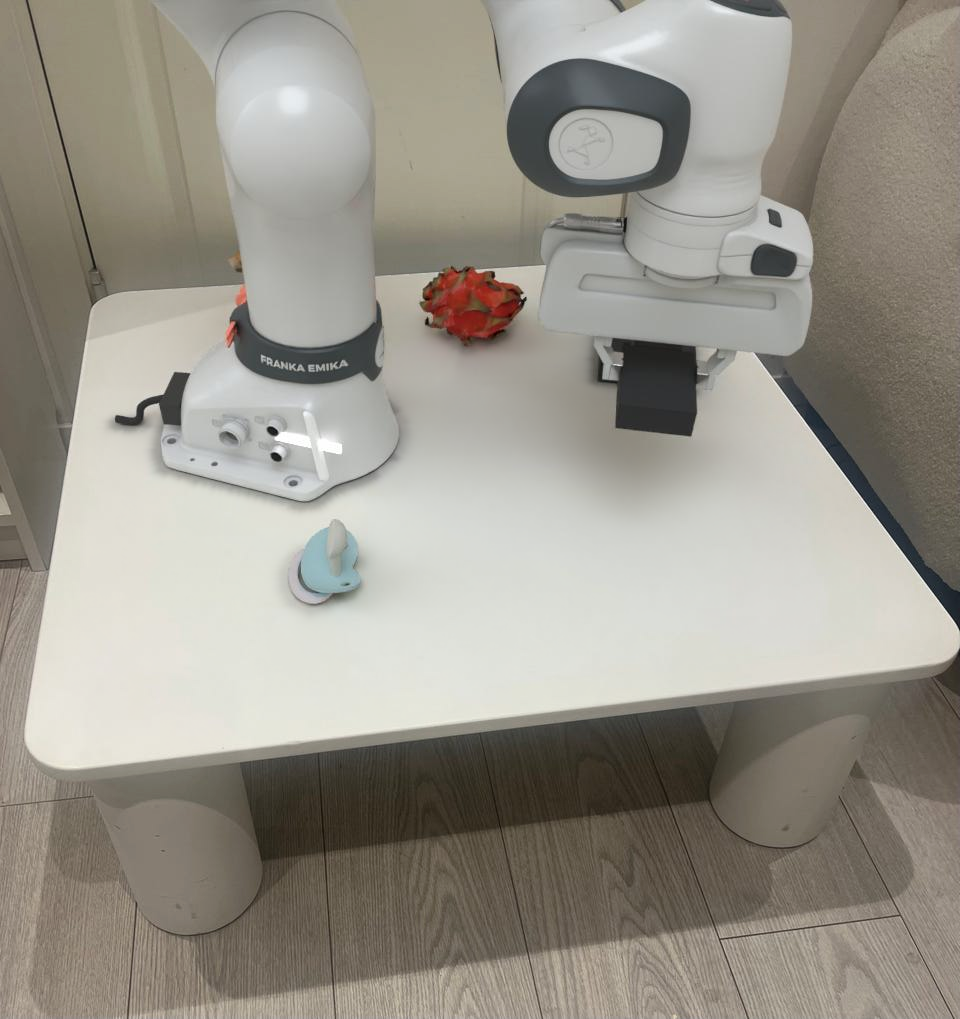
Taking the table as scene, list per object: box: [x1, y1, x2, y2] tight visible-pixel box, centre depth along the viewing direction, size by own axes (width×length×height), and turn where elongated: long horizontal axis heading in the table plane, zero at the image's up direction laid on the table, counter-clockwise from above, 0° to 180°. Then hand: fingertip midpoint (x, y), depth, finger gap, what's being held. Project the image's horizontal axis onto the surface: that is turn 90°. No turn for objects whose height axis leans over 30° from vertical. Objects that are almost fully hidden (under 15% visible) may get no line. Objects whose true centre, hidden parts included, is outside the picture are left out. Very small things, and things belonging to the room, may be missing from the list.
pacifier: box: [287, 518, 361, 605], centre depth 83 cm, size 7×6×6 cm
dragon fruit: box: [418, 265, 528, 346], centre depth 109 cm, size 8×8×12 cm
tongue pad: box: [614, 340, 698, 438], centre depth 83 cm, size 12×6×2 cm, turn 173°
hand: (657, 381), depth 82 cm, fingers closed on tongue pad, 6 cm apart
